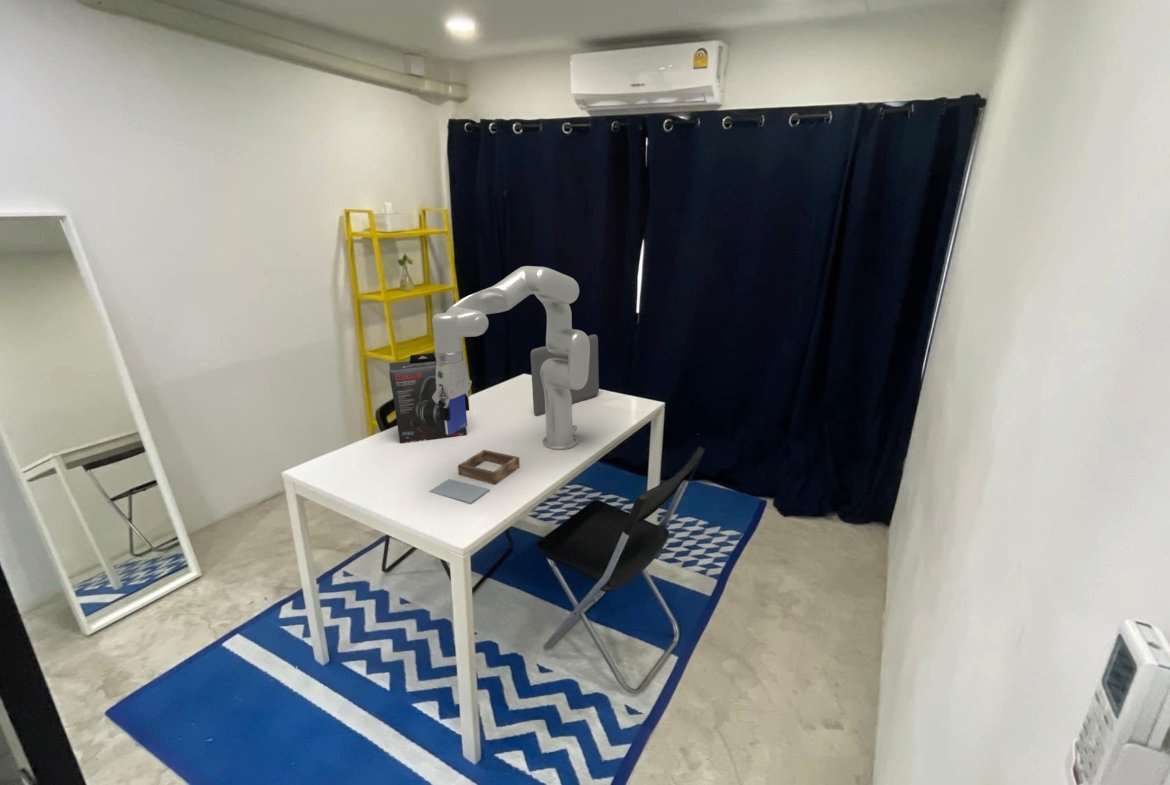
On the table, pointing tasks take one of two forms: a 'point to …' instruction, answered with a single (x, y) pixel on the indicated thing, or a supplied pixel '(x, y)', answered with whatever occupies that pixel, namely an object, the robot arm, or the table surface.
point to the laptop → (577, 395)
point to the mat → (460, 491)
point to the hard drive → (456, 414)
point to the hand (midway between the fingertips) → (455, 414)
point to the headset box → (417, 400)
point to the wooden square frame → (488, 476)
